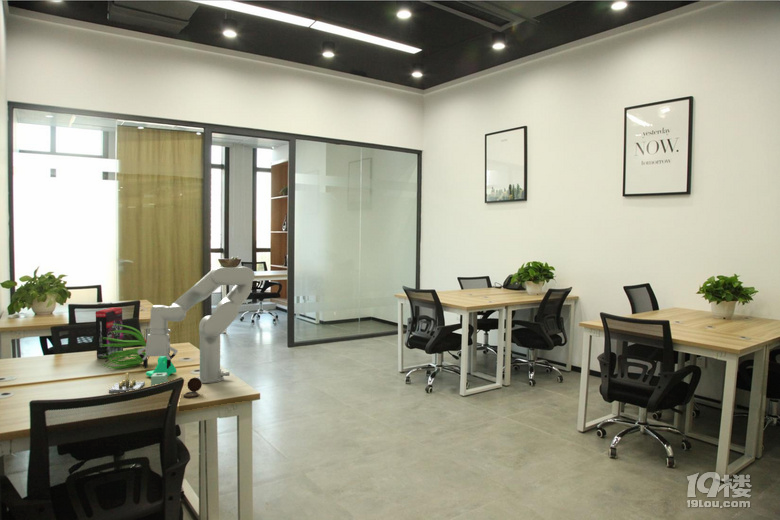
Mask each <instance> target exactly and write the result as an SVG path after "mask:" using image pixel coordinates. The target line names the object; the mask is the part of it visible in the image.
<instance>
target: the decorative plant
mask: <svg viewBox="0 0 780 520" xmlns="http://www.w3.org/2000/svg"><path fill="white" fill-rule="evenodd" d="M114 325H120V324H114ZM120 326H123V327H124V328H127V329H123V330H115V331H111V332H113V333H115V332H120V333H123V334H128V335H131V336H134V337H135V338H136V339H137V340H135V339H133V340H132V339H131V340H128V339H127V340H126V339H125V340H124V339H123V340H119V339H115V340H114V338H109V339H107V340H111V341H116V342H118V343H119V342H123V343H119V344H101V345H105V346H111V347H112V348H111V349H113V347H123V351H116V352H117V353H114V352H112V353H114V354H111V355H107V356H104V357H109V356H112V357H109V358H107V359H106V360H104V361H105V363H103V366H104V367H105V368H107V369H111V370H123V369H127V368H131V367H136V366H139V365H141V364H143V359H142V358H141V357H140V356H139V354H138V352H137V351H138V350H139V349H141V348H143V347H146V342H147V338H145V337H144V335H143V333H142V332H141V331H140V330H139V329H137V328H135V327H133V326H130V325H126V324H125V325H124V324H123V325H120ZM128 329H131V330H128ZM116 336H117V335H116ZM103 339H105V337H104V338H103ZM105 346H102V347H105ZM134 346H142V347H135V348H131V349H126V347H127V348H128V347H134ZM106 350H107V349H106ZM105 354H106V353H105ZM116 354H117V355H116ZM142 354H143V355H144V356H145V355H146V354H145V350H144V351H142ZM113 355H114V356H113ZM150 357H151V356H148V357H147V359H150ZM102 358H103V357H102ZM125 358H127V359H125ZM108 364H115V365H118V366H110V365H108Z"/></svg>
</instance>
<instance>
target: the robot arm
mask: <svg viewBox="0 0 780 520" xmlns="http://www.w3.org/2000/svg"><path fill="white" fill-rule="evenodd" d="M255 274H256V273H255V272H254V270H253V269H252V268H250V267H247V266H244V265H241V266H238V267H224V266H214V268H212V269H211V270H210V271H209V272H207V274H205V275H204V276H203V277H202V278H201V279H200V280H199V281H198V282H196V283H195V284H194V285H193V286H191V287H190V288H189V289H188V290H186V292H184V293H183V294H182V295H181V296H179V297H178V298H177V299H176V300H175V301H174V302H172V303H171V305H169V306H167V305H165V304H154V305H152V306H151V308H150V316H149V317H150V320H149V333H148V334H147V337H146V340H147V342H146V347H144V346H142V347H143V348H141V347H140V348H141V349H139V350H138V351H137V352H138V354H139V356H140V357H141V358H142V359H143V362H142V366H143V367H144V368H143V369H144V370H145V369H147V368H148V366H149V365H148V362H149V358H148V357H149V356H150V357H160V356H166V357H167V359H168V360H167V369H168V368H169V366H171V362H172V359H173V358H174V357H175V356H176V355H177V354H178V349H176V348H174V347H173V346H171V337H170V334H169V333H171V332H172V329H170V328H168V327H169V326H168V324H169V322H176V323H177V322H182V321H183V320H184V319H185V318H186V316H187V312H188V311H189V310H191V308H192V307H194V306H195V305H196V304H198V303H200V302H203V301H204V300H206V299H208V297H210V296H211V295H212V294H213V293H215V292H216V290H218V289H219V288H220V287H221V286H233V287H232V289H231V290H230V291H229V292H228V293H227V294H226V295H225V296H224V297H223V298H222V299H221V300H220V301H219V302H218V303H217V305H216V306H215V307H216V308H215V311H214V312H213V313H212V314H211V315H210V314H209V315H205V316H204V317H202V318H201V320H200V321H199V326H198V329H199V330H198V331H199V334H198V335H199V376H197V377H196V378H198V379H200V380H201V383H202V384H211V383H212V384H213V383H218V382H221V381H223V380H224V377H230V371H224V370H222V368H221V335H222V334H223V333H224V331H226V330H227V328H228V327H229V326H230V325H231V324H233V322H234V321H235V320H236V319H237V317H238V316H239V312H240V307H241V306H242V305H243V303H244V302H245V301H246V300H247V299H248V297H249V296H250V294H251V292H252V287H253V282H254V279H255V276H256V275H255ZM144 350H145V354H146V355H145V356H144V355H143V354H142V351H144ZM171 352H173V353H172V354H170V353H171Z"/></svg>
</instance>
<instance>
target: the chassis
mask: <svg viewBox="0 0 780 520" xmlns="http://www.w3.org/2000/svg"><path fill="white" fill-rule="evenodd" d="M124 375H125V379H122V380H121V382H115V384H114V385H113V386H111V387H110V389H108V393H109V394H111V393H113V394H114V393H116V394H117V393H125V392H124V391H129V390H135V389H140V388H141V389H142V388H143V387H144V386H145V383H146V382H145V381H137V379H131V381H130V372H125V374H124ZM141 389H140V390H141Z"/></svg>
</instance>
